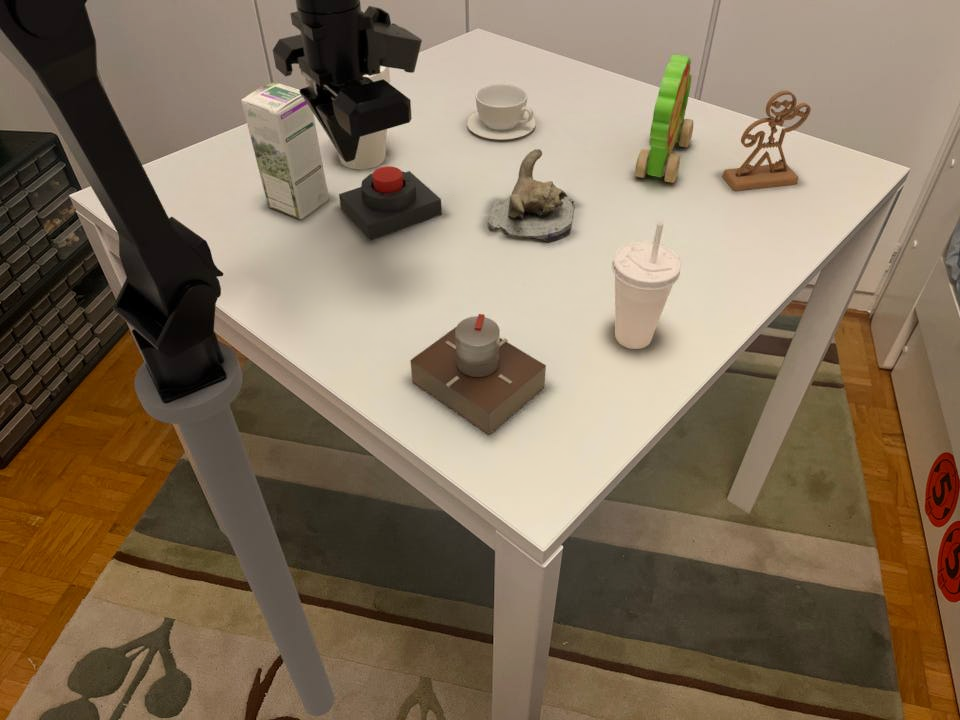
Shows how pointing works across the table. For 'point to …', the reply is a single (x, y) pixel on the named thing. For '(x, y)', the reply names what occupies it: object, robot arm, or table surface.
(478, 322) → the heat knob
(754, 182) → the brown wooden figure
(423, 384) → the panel
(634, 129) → the table surface
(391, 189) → the button
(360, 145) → the foam cup
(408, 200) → the block
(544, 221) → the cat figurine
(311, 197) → the syrup box
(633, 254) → the smoothie
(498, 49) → the table surface
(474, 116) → the teacup
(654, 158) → the toy lion
